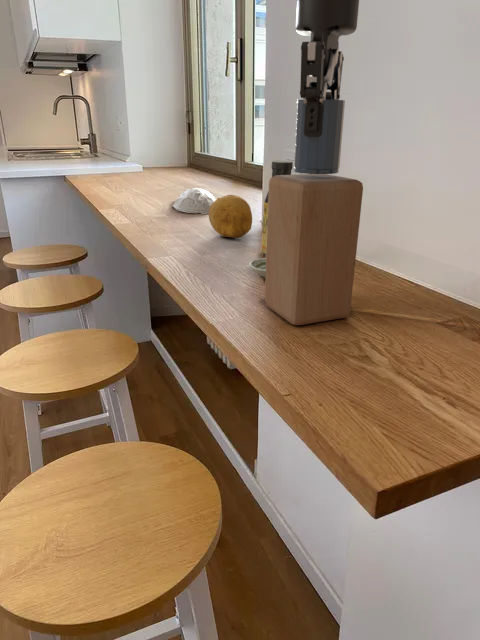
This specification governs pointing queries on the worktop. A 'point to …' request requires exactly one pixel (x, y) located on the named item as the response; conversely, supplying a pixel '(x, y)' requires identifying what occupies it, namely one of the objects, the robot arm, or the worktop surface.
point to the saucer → (259, 266)
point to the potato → (230, 216)
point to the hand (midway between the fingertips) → (318, 135)
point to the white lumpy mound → (194, 201)
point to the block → (311, 246)
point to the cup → (319, 140)
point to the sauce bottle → (277, 169)
